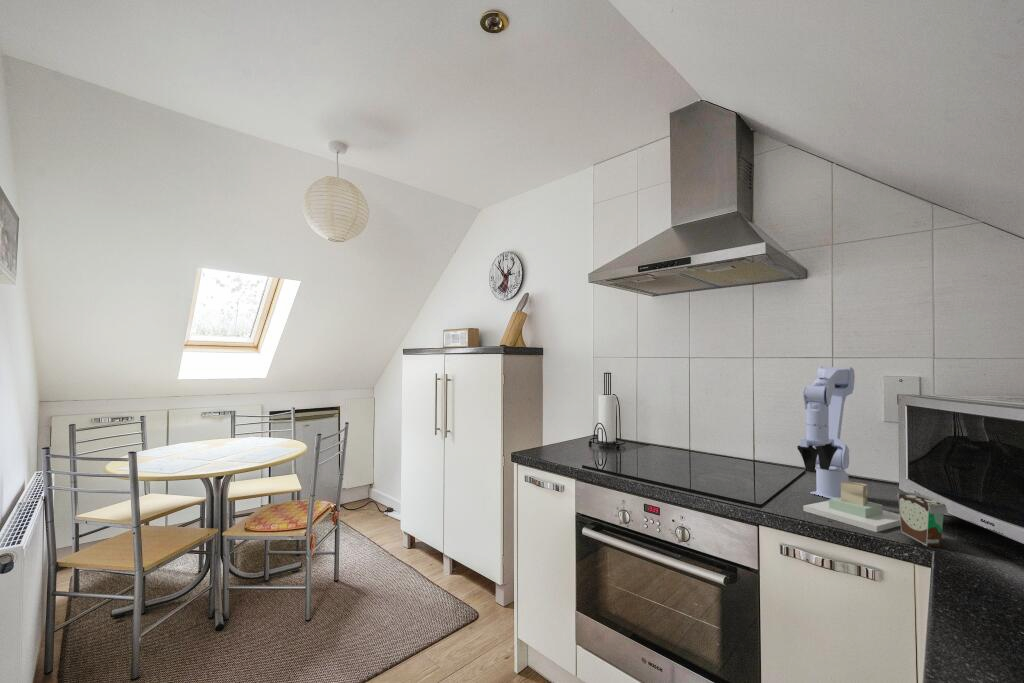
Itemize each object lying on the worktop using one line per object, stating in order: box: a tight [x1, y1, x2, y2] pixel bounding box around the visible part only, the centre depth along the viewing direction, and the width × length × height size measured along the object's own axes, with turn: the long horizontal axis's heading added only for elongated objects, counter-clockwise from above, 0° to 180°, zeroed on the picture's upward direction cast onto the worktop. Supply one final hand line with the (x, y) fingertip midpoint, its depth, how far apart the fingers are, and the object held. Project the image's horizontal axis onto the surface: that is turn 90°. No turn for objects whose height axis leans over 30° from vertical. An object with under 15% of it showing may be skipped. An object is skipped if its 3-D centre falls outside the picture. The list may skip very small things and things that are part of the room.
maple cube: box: [841, 480, 869, 506], centre depth 126 cm, size 5×5×5 cm
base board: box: [802, 497, 901, 533], centre depth 126 cm, size 18×18×4 cm
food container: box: [896, 490, 948, 547], centre depth 110 cm, size 12×6×10 cm, turn 168°
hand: (817, 470), depth 137 cm, fingers open, 7 cm apart
